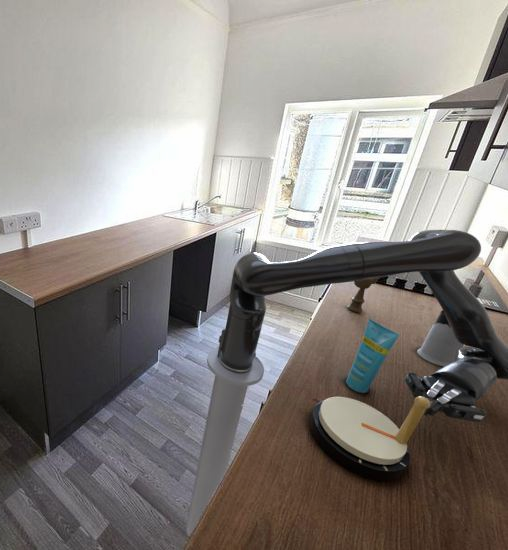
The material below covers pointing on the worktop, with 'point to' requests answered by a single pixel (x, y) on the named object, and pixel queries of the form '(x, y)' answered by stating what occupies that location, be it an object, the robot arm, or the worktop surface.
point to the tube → (370, 355)
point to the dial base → (352, 461)
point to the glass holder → (440, 343)
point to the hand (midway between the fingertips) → (423, 409)
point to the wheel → (369, 428)
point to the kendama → (360, 294)
